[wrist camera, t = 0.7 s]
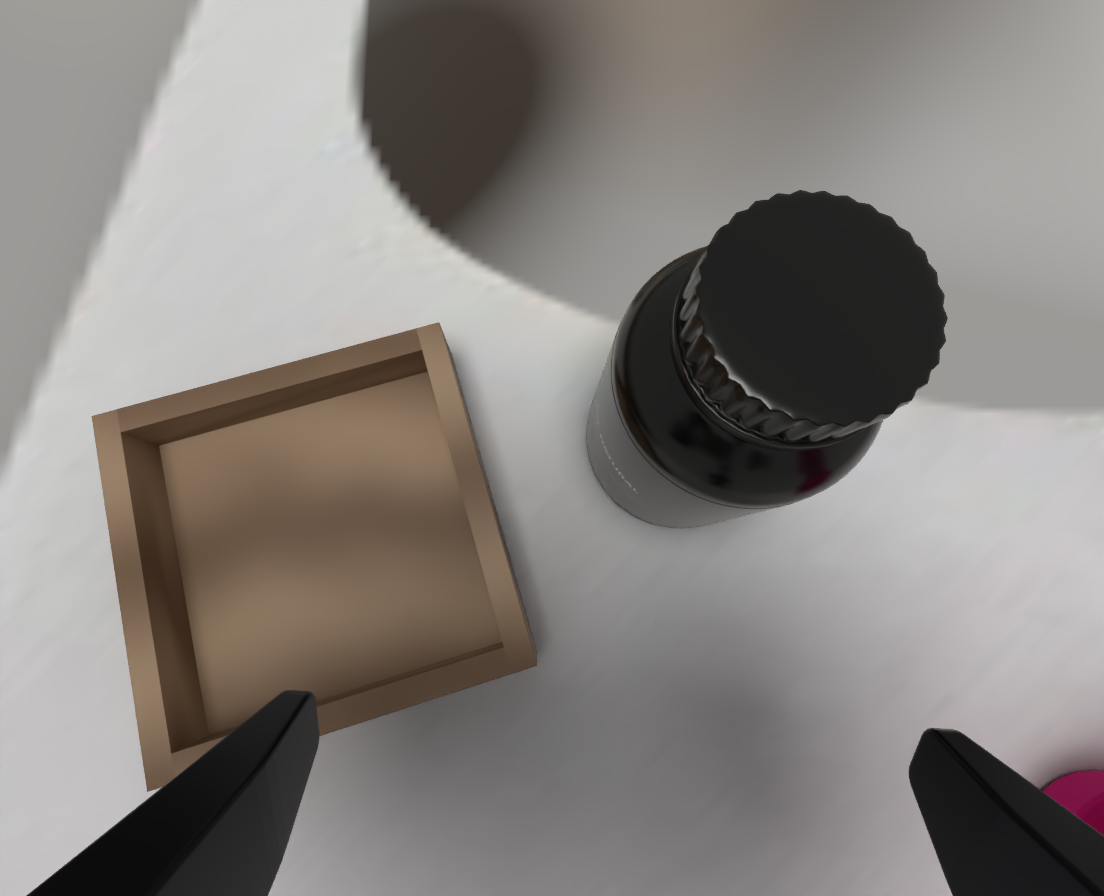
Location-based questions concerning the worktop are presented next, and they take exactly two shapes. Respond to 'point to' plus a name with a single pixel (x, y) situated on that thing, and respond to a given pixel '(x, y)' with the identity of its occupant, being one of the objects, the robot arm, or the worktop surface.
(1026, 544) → the worktop surface
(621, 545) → the worktop surface
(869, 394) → the supplement bottle
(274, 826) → the robot arm
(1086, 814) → the pepper mill
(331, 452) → the tray
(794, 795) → the worktop surface
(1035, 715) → the worktop surface
